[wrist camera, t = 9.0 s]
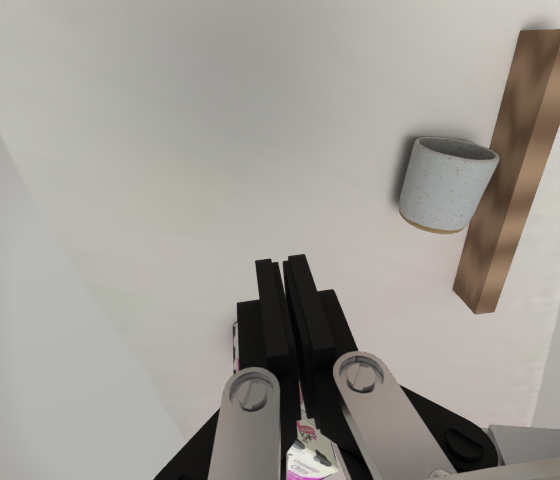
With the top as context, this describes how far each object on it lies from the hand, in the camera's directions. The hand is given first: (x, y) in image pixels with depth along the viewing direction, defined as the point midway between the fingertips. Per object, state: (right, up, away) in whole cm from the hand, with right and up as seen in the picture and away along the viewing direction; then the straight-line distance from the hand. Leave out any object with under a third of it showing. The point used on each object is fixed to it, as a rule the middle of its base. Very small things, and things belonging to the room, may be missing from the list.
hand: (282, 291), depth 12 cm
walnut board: (+24, +8, +28) cm, 38 cm away
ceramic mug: (+17, +9, +27) cm, 33 cm away
